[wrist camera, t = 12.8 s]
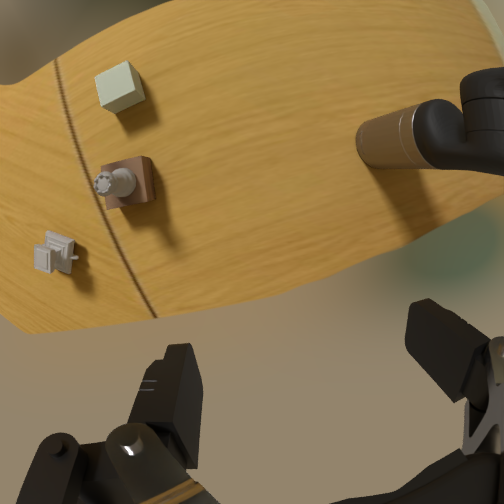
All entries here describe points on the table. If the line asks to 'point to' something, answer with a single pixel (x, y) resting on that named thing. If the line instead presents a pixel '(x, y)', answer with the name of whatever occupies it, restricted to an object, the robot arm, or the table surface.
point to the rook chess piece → (115, 183)
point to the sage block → (119, 87)
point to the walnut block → (143, 182)
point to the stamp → (54, 253)
